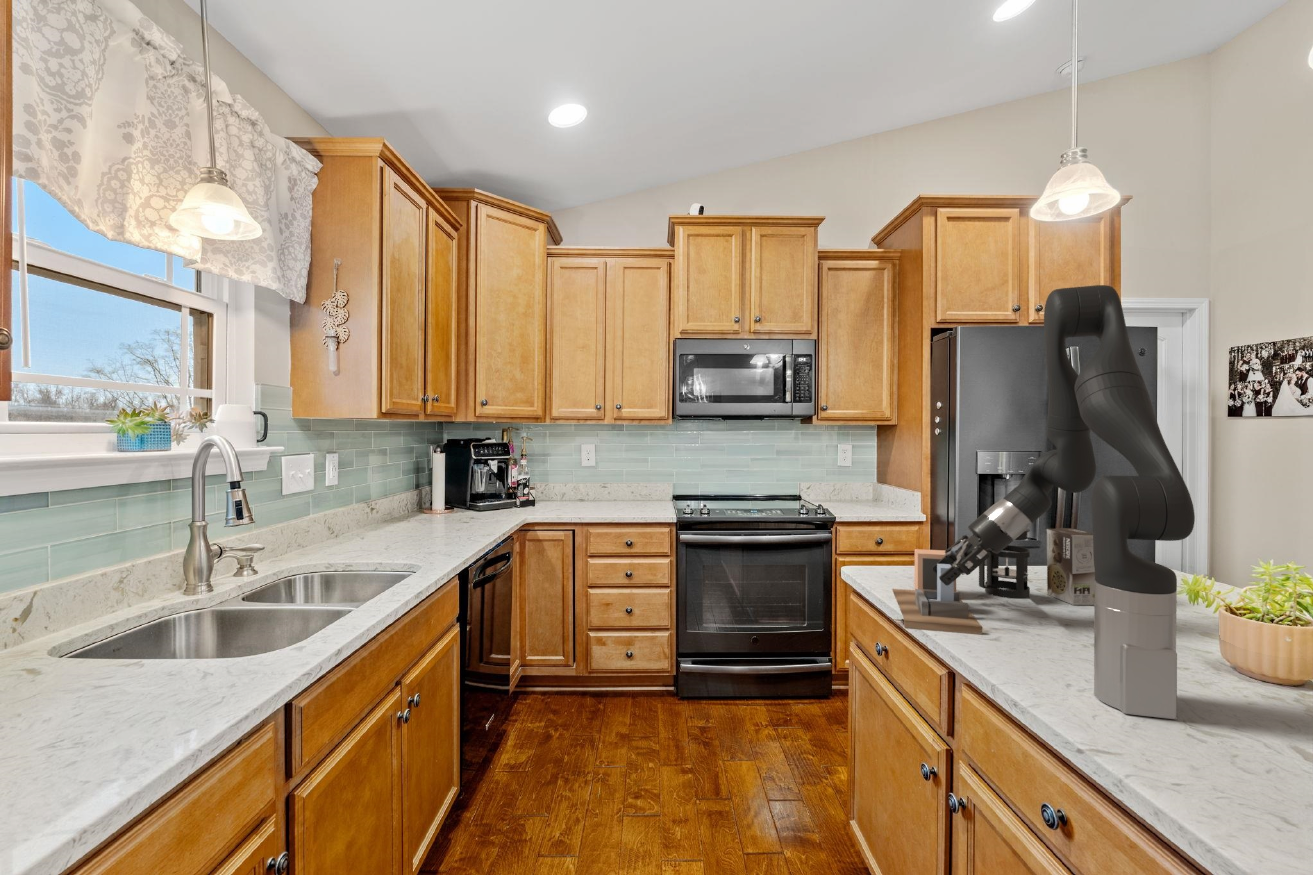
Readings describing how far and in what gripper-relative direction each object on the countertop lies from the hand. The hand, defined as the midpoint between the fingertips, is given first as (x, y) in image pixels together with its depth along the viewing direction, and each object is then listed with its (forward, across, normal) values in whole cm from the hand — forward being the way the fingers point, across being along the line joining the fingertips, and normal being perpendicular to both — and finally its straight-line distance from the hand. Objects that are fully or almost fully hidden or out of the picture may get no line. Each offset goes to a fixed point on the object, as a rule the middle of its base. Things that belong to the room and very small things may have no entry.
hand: (938, 576), depth 122 cm
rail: (+7, -3, +6) cm, 9 cm away
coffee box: (-17, -22, +29) cm, 40 cm away
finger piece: (+4, 0, +6) cm, 7 cm away
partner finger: (+4, -12, +6) cm, 14 cm away
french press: (-6, -18, +18) cm, 26 cm away
